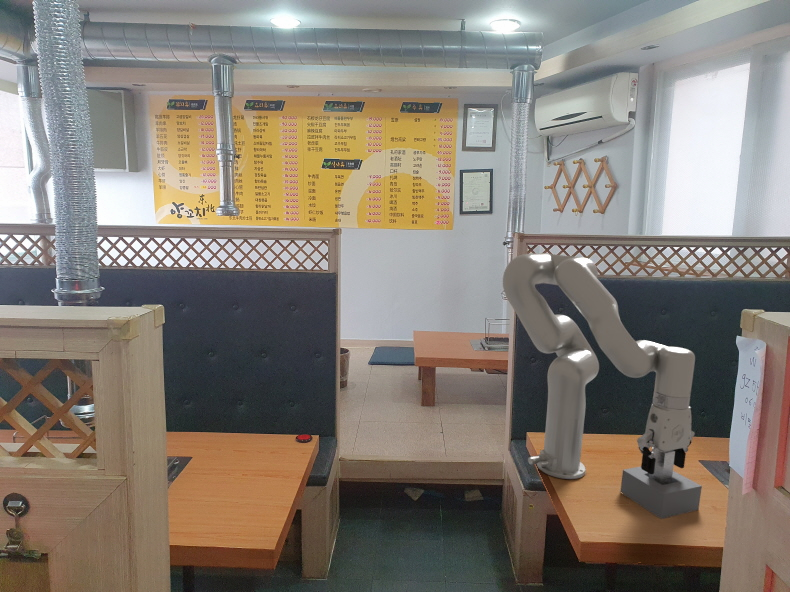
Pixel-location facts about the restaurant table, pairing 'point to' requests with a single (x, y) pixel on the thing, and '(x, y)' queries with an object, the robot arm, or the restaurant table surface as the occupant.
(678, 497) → the well block
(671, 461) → the steel post
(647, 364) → the robot arm
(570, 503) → the restaurant table surface
